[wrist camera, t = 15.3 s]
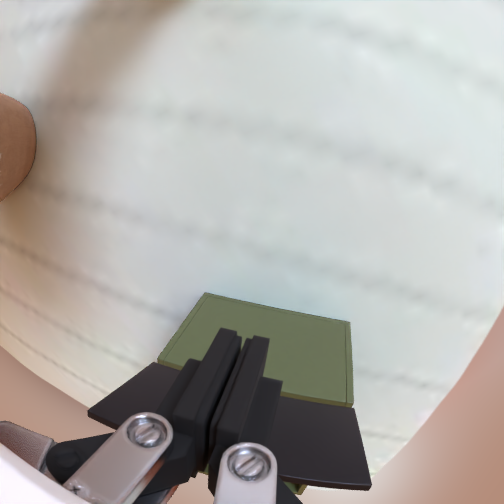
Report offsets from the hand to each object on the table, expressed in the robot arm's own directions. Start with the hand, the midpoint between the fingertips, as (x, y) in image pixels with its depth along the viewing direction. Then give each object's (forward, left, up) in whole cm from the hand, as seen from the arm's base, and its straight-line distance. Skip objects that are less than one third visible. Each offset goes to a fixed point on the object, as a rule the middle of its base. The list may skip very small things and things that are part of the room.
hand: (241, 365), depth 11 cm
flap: (+6, 0, -2) cm, 6 cm away
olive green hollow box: (+15, 0, -16) cm, 21 cm away
